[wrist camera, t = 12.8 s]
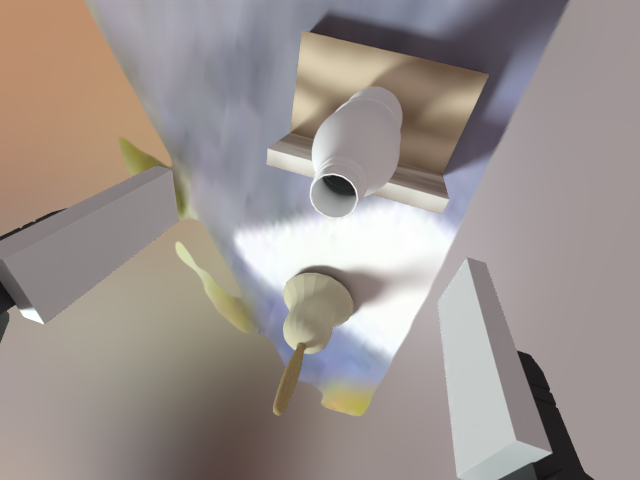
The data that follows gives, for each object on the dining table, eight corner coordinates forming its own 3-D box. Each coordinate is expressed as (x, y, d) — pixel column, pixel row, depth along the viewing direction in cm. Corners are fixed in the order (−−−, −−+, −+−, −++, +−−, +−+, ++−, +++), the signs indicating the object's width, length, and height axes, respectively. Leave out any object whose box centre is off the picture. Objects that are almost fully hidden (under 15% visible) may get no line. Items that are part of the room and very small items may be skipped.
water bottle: (413, 98, 35) (421, 169, 15) (386, 152, 39) (362, 263, 19) (360, 73, 35) (295, 111, 15) (338, 130, 39) (264, 218, 19)
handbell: (339, 329, 66) (309, 451, 46) (279, 303, 67) (223, 413, 46) (366, 286, 57) (343, 416, 37) (297, 256, 57) (236, 368, 37)
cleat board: (309, 31, 36) (277, 26, 28) (483, 72, 34) (509, 81, 25) (294, 141, 45) (266, 164, 36) (434, 179, 42) (441, 214, 34)
